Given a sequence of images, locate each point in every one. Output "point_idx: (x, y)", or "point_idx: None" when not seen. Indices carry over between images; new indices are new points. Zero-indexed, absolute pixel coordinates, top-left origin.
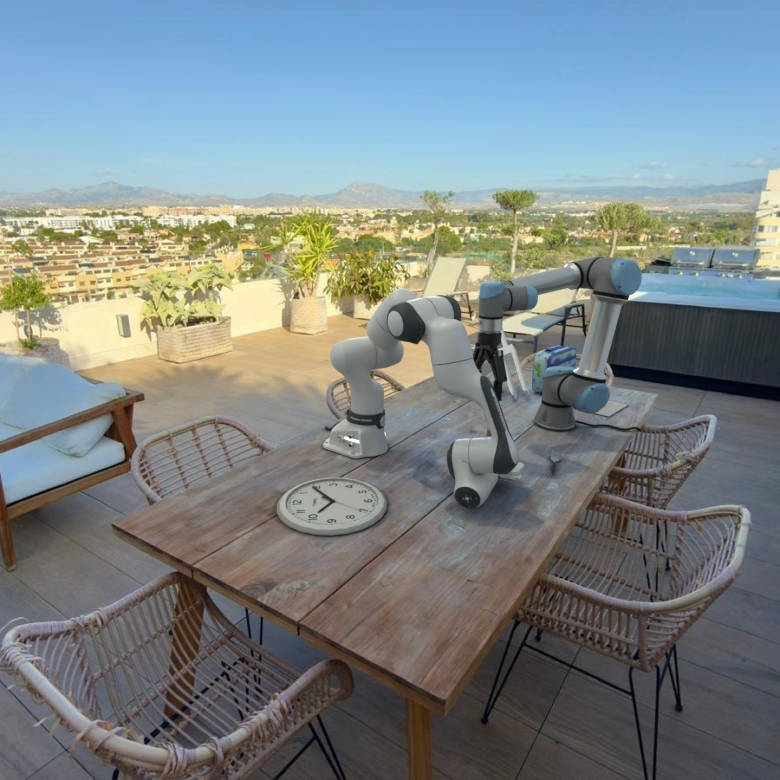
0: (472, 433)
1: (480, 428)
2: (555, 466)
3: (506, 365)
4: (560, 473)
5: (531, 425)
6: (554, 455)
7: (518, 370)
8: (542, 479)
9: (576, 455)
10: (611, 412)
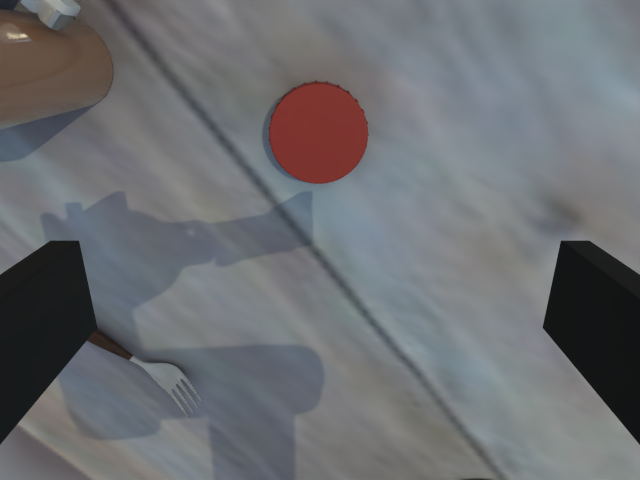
0: (539, 207)
1: None
2: (93, 343)
3: None
4: None
5: (496, 464)
6: (182, 388)
7: None
8: (11, 246)
9: (195, 454)
10: None
